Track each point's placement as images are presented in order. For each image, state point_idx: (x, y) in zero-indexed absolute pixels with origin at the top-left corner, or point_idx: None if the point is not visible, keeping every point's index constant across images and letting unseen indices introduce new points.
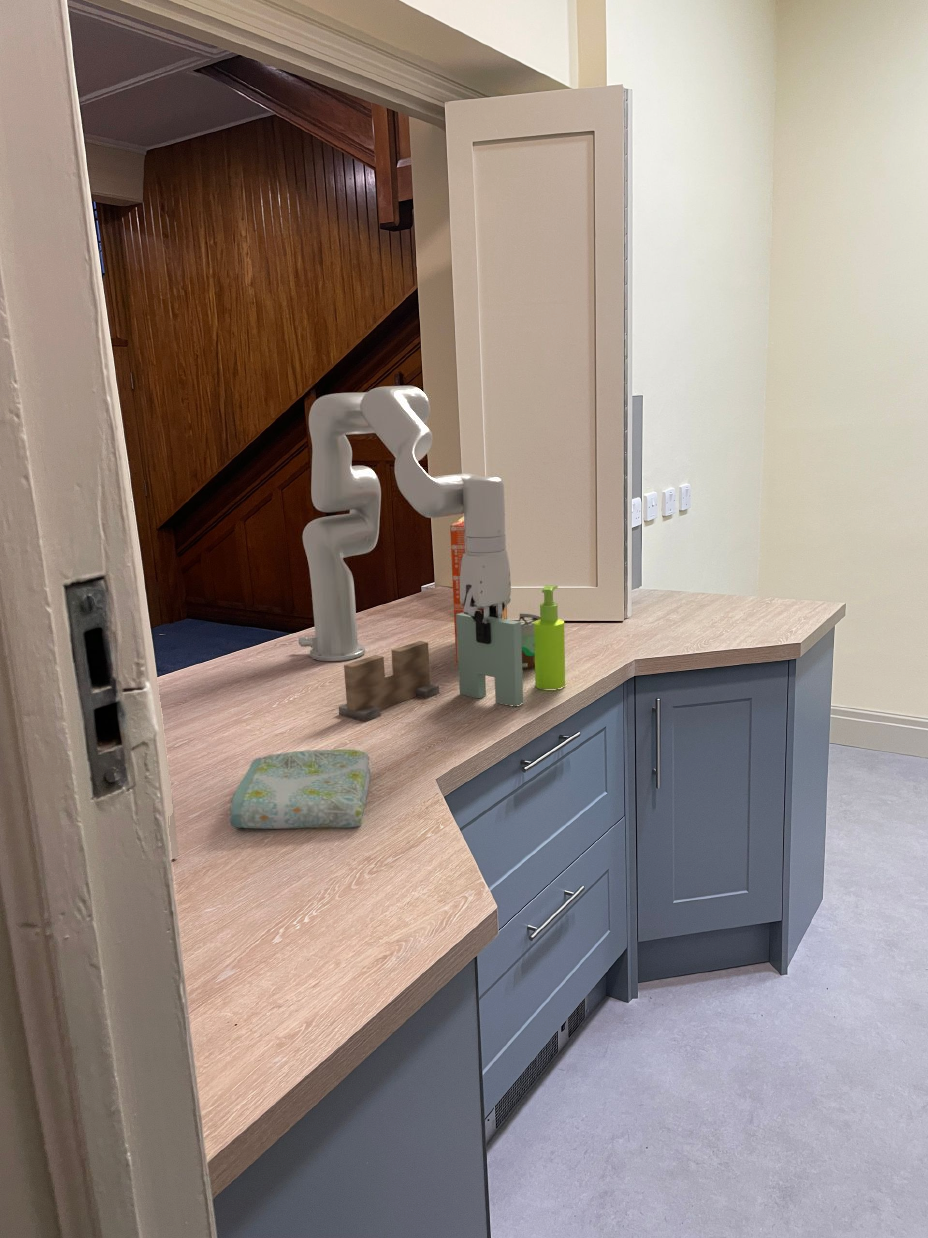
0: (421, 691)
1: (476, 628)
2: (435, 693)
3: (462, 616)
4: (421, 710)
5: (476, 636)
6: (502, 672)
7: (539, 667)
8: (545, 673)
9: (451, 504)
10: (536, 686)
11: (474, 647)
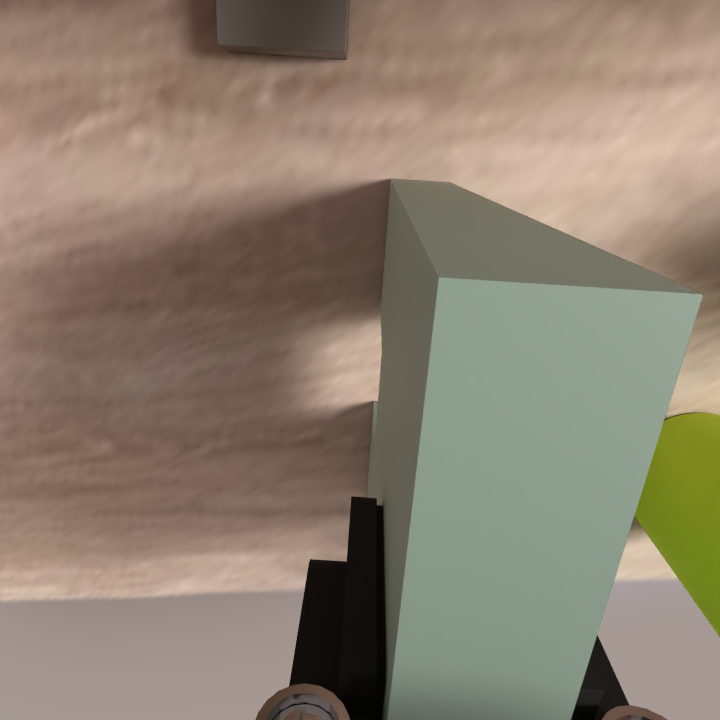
0: (218, 9)
1: (345, 598)
2: (313, 55)
3: (417, 434)
4: (88, 170)
5: (349, 528)
6: None
7: (675, 526)
8: (655, 536)
9: None
10: None
11: (386, 411)
